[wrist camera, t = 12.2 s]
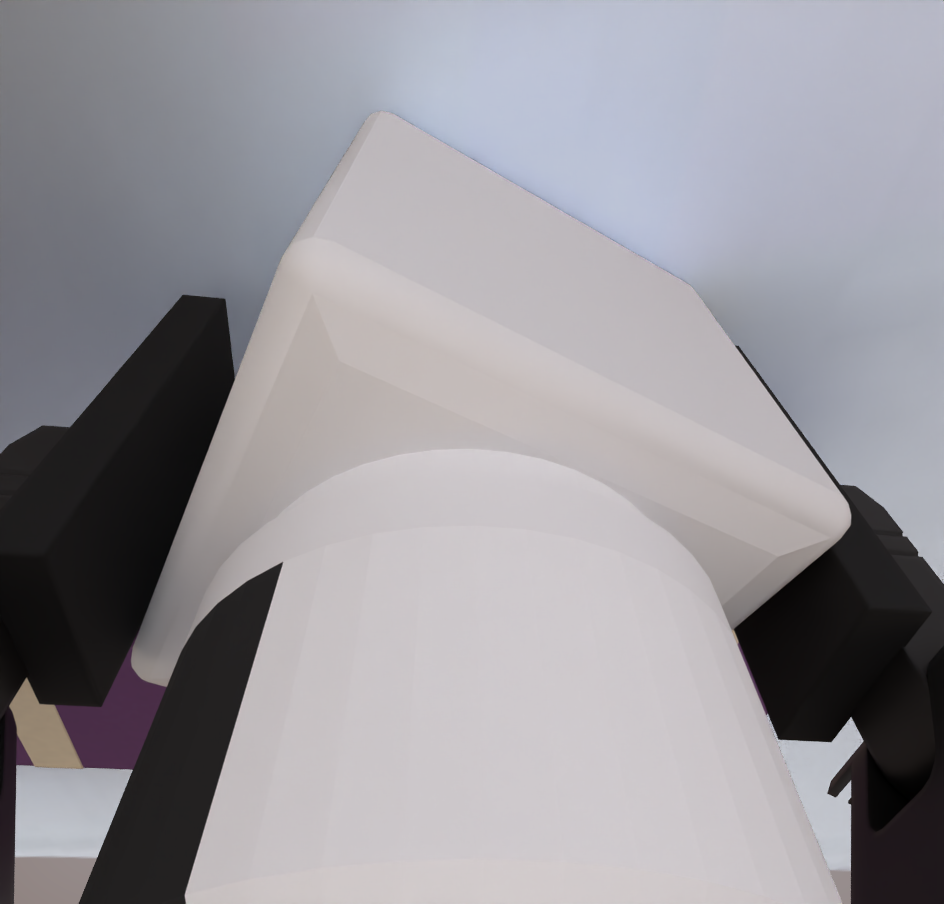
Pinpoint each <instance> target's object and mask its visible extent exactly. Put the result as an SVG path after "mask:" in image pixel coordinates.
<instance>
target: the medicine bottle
mask: <svg viewBox="0 0 944 904" xmlns="http://www.w3.org/2000/svg"><path fill="white" fill-rule="evenodd" d="M850 525H851V512H850V508H849V504H848V502H847V501H846V499H845V498H844V497H843V495H842V494H841V492H840V491H839V490H838V488H837V487H836V486H835V484H834V483H833V481H832V480H831V479H830V477H829V476H828V474H827V473H826V472H825V470H824V469H823V467H822V466H821V465H820V463H819V462H818V461H817V459H816V458H815V456H814V455H813V454H812V452H811V451H810V449H809V448H808V447H807V445H806V444H805V442H804V441H803V440H802V438H801V437H800V436H799V434H798V433H797V431H796V430H795V429H794V427H793V426H792V424H791V423H790V422H789V420H788V419H787V417H786V416H785V415H784V413H783V412H782V411H781V409H780V408H779V406H778V405H777V404H776V402H775V401H774V399H773V398H772V397H771V395H770V394H769V392H768V391H767V390H766V388H765V387H764V386H763V384H762V383H761V381H760V380H759V379H758V377H757V376H756V374H755V373H754V372H753V370H752V369H751V367H750V366H749V365H748V363H747V362H746V361H745V359H744V358H743V356H742V355H741V354H740V352H739V351H738V349H737V348H736V347H735V345H734V344H733V342H732V341H731V340H730V338H729V337H728V336H727V334H726V333H725V331H724V330H723V329H722V327H721V326H720V324H719V323H718V322H717V320H716V319H715V317H714V316H713V315H712V313H711V312H710V311H709V309H708V308H707V306H706V305H705V304H704V302H703V301H702V299H701V298H700V297H699V295H698V294H697V292H696V291H695V290H694V289H693V288H692V287H691V286H690V285H689V284H687V283H686V282H684V281H682V280H680V279H679V278H677V277H675V276H674V275H672V274H670V273H668V272H667V271H665V270H663V269H661V268H660V267H658V266H656V265H654V264H653V263H651V262H649V261H648V260H646V259H644V258H642V257H641V256H639V255H637V254H635V253H634V252H632V251H630V250H628V249H627V248H625V247H623V246H622V245H620V244H618V243H616V242H615V241H613V240H611V239H609V238H608V237H606V236H604V235H602V234H601V233H599V232H597V231H596V230H594V229H592V228H590V227H589V226H587V225H585V224H583V223H582V222H580V221H578V220H576V219H575V218H573V217H571V216H570V215H568V214H566V213H564V212H563V211H561V210H559V209H557V208H556V207H554V206H552V205H550V204H549V203H547V202H545V201H544V200H542V199H540V198H538V197H537V196H535V195H533V194H531V193H530V192H528V191H526V190H524V189H523V188H521V187H519V186H518V185H516V184H514V183H512V182H511V181H509V180H507V179H505V178H504V177H502V176H500V175H498V174H497V173H495V172H493V171H492V170H490V169H488V168H486V167H485V166H483V165H481V164H479V163H478V162H476V161H474V160H472V159H471V158H469V157H467V156H466V155H464V154H462V153H460V152H459V151H457V150H455V149H453V148H452V147H450V146H448V145H446V144H445V143H443V142H441V141H440V140H438V139H436V138H434V137H433V136H431V135H429V134H427V133H426V132H424V131H422V130H420V129H419V128H417V127H415V126H414V125H412V124H410V123H408V122H407V121H405V120H403V119H401V118H400V117H398V116H396V115H394V114H393V113H389V112H385V111H379V112H376V113H373V114H370V116H369V117H368V118H367V119H366V121H365V122H364V123H363V125H362V127H361V128H360V130H359V132H358V133H357V135H356V136H355V138H354V140H353V141H352V143H351V145H350V146H349V148H348V150H347V151H346V153H345V154H344V156H343V158H342V159H341V161H340V163H339V164H338V166H337V168H336V169H335V171H334V172H333V174H332V176H331V177H330V179H329V181H328V182H327V184H326V186H325V187H324V189H323V191H322V192H321V194H320V195H319V197H318V199H317V200H316V202H315V204H314V205H313V207H312V209H311V210H310V212H309V213H308V215H307V217H306V218H305V220H304V222H303V223H302V225H301V227H300V228H299V230H298V232H297V233H296V235H295V236H294V238H293V240H292V241H291V243H290V245H289V246H288V248H287V250H286V251H285V253H284V254H283V256H282V258H281V260H280V263H279V265H278V268H277V271H276V273H275V276H274V279H273V281H272V284H271V286H270V289H269V292H268V294H267V297H266V299H265V302H264V305H263V307H262V310H261V313H260V315H259V318H258V320H257V323H256V326H255V328H254V331H253V334H252V336H251V339H250V341H249V344H248V347H247V349H246V352H245V355H244V357H243V360H242V362H241V365H240V368H239V370H238V373H237V376H236V378H235V381H234V383H233V386H232V389H231V391H230V394H229V397H228V399H227V402H226V404H225V407H224V410H223V412H222V415H221V417H220V420H219V423H218V425H217V428H216V431H215V433H214V436H213V438H212V441H211V444H210V446H209V449H208V452H207V454H206V457H205V459H204V462H203V465H202V467H201V470H200V473H199V475H198V478H197V480H196V483H195V486H194V488H193V491H192V494H191V496H190V499H189V501H188V504H187V507H186V509H185V512H184V515H183V517H182V520H181V522H180V525H179V528H178V530H177V533H176V535H175V538H174V541H173V543H172V546H171V549H170V551H169V554H168V556H167V559H166V562H165V564H164V567H163V570H162V572H161V575H160V577H159V580H158V583H157V585H156V588H155V591H154V593H153V596H152V598H151V601H150V604H149V606H148V609H147V612H146V614H145V617H144V619H143V622H142V625H141V627H140V630H139V633H138V635H137V638H136V640H135V643H134V646H133V649H132V657H131V664H132V668H133V669H134V671H135V672H136V674H137V675H138V676H139V677H140V678H141V679H142V680H145V681H147V682H150V683H154V684H157V685H161V686H165V687H167V688H166V690H165V692H164V695H163V697H162V700H161V702H160V705H159V707H158V710H157V712H156V715H155V717H154V719H153V722H152V724H151V727H150V729H149V732H148V734H147V737H146V739H145V742H144V744H143V747H142V749H141V751H140V754H139V756H138V759H137V761H136V764H135V766H134V769H133V771H132V774H131V776H130V779H129V781H128V783H127V786H126V788H125V791H124V793H123V796H122V798H121V801H120V803H119V806H118V808H117V811H116V813H115V815H114V818H113V820H112V823H111V825H110V828H109V830H108V833H107V835H106V838H105V840H104V843H103V845H102V847H101V850H100V852H99V855H98V857H97V860H96V862H95V865H94V867H93V870H92V872H91V875H90V877H89V880H88V882H87V884H86V887H85V889H84V892H83V894H82V897H81V899H80V902H79V904H843V903H842V901H841V898H840V896H839V893H838V891H837V888H836V886H835V883H834V881H833V878H832V876H831V874H830V871H829V869H828V866H827V864H826V861H825V859H824V856H823V854H822V851H821V849H820V846H819V844H818V842H817V839H816V837H815V834H814V832H813V829H812V827H811V824H810V822H809V819H808V817H807V815H806V812H805V810H804V807H803V805H802V802H801V800H800V797H799V795H798V792H797V790H796V788H795V785H794V783H793V780H792V778H791V775H790V773H789V770H788V768H787V765H786V763H785V761H784V758H783V756H782V753H781V751H780V748H779V746H778V743H777V741H776V738H775V736H774V734H773V731H772V729H771V726H770V724H769V721H768V719H767V716H766V714H765V711H764V709H763V707H762V704H761V702H760V699H759V697H758V694H757V692H756V689H755V687H754V684H753V682H752V679H751V677H750V675H749V672H748V670H747V667H746V665H745V662H744V660H743V657H742V655H741V652H740V650H739V648H738V645H737V643H736V640H735V638H734V635H733V633H732V630H733V629H734V628H735V627H736V626H738V625H739V624H740V623H741V622H742V621H744V620H745V619H746V618H747V617H748V616H750V615H751V614H752V613H753V612H754V611H755V610H757V609H758V608H759V607H760V606H761V605H763V604H764V603H765V602H766V601H767V600H769V599H770V598H771V597H772V596H773V595H774V594H776V593H777V592H778V591H779V590H780V589H782V588H783V587H784V586H785V585H786V584H788V583H789V582H790V581H791V580H792V579H794V578H795V577H796V576H797V575H798V574H799V573H801V572H802V571H803V570H804V569H805V568H807V567H808V566H809V565H810V564H811V563H813V562H814V561H815V560H816V559H817V558H818V557H820V556H821V555H822V554H823V553H824V552H826V551H827V550H828V549H829V548H830V547H832V546H833V545H834V544H835V543H836V542H837V541H839V540H840V539H841V537H842V536H843V535H844V534H845V532H846V531H847V530H848V528H849V527H850Z"/></svg>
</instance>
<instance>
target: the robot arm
mask: <svg viewBox="0 0 944 904" xmlns="http://www.w3.org/2000/svg"><path fill="white" fill-rule="evenodd" d="M735 347H736V348H737V349H738V351H739V352H740V354H741V355H742V356H743V358H744V359H745V361H746V362H747V363H748V365H749V366H750V367H751V369H752V370H753V372H754V373H755V374H756V376H757V377H758V379H759V380H760V381H761V383H762V384H763V386H764V387H765V388H766V390H767V391H768V392H769V394H770V395H771V397H772V398H773V399H774V401H775V402H776V404H777V405H778V406H779V408H780V409H781V411H782V412H783V413H784V415H785V416H786V417H787V419H788V420H789V422H790V423H791V424H792V426H793V427H794V429H795V430H796V431H797V433H798V434H799V436H800V437H801V438H802V440H803V441H804V442H805V444H806V445H807V447H808V448H809V449H810V451H811V452H812V454H813V455H814V456H815V458H816V459H817V461H818V462H819V463H820V465H821V466H822V467H823V469H824V470H825V472H826V473H827V474H828V476H829V477H830V479H831V480H832V481H833V483H834V484H835V486H836V487H837V488H838V490H839V491H840V492H841V494H842V495H843V497H844V498H845V499H846V501H847V502H848V504H849V508H850V512H851V525H850V527H849V528H848V530H847V531H846V532H845V534H844V535H843V536H842V537H841V539H840V540H839V541H837V542H836V543H835V544H834V545H833V546H832V547H830V548H829V549H828V550H827V551H826V552H824V553H823V554H822V555H821V556H820V557H818V558H817V559H816V560H815V561H814V562H813V563H811V564H810V565H809V566H808V567H807V568H805V569H804V570H803V571H802V572H801V573H799V574H798V575H797V576H796V577H795V578H794V579H792V580H791V581H790V582H789V583H788V584H786V585H785V586H784V587H783V588H782V589H780V590H779V591H778V592H777V593H776V594H774V595H773V596H772V597H771V598H770V599H769V600H767V601H766V602H765V603H764V604H763V605H761V606H760V607H759V608H758V609H757V610H755V611H754V612H753V613H752V614H751V615H750V616H748V617H747V618H746V619H745V620H744V621H742V622H741V623H740V624H739V625H738V626H736V627H735V628H734V632H735V634H736V637H737V639H738V641H739V644H740V646H741V649H742V651H743V654H744V656H745V658H746V661H747V663H748V666H749V668H750V671H751V673H752V676H753V678H754V680H755V683H756V685H757V688H758V690H759V693H760V695H761V697H762V700H763V702H764V705H765V707H766V710H767V712H768V715H769V717H770V719H771V722H772V724H773V727H774V729H775V732H776V734H777V736H778V739H779V740H798V741H819V742H832V741H833V739H834V738H835V737H836V736H837V734H838V733H839V732H840V730H841V729H842V728H843V726H844V725H845V724H846V723H847V721H848V720H849V719H850V717H852V719H853V721H854V723H855V725H856V727H857V729H858V731H859V732H860V734H861V736H862V738H863V740H864V742H863V743H862V744H861V745H860V747H859V748H858V749H857V750H856V751H855V753H854V754H853V755H852V756H851V757H850V759H849V760H848V761H847V762H846V763H845V765H844V766H843V767H842V768H841V770H840V771H839V772H838V773H837V774H836V776H835V777H834V778H833V779H832V780H831V783H830V786H829V790H828V793H827V794H829V795H832V796H834V797H837V796H838V794H839V793H840V792H841V791H842V790H843V789H844V787H845V786H846V785H847V784H848V783H849V782H850V780H851V798H850V800H849V801H848V803H849V804H851V904H944V584H943V583H942V581H941V580H940V579H939V578H938V576H937V575H936V574H935V573H934V571H933V570H932V569H931V567H930V566H929V565H928V564H927V562H926V561H925V560H924V558H923V557H918V551H917V549H916V548H915V547H914V546H913V544H912V543H911V542H910V541H909V539H908V538H907V537H903V536H902V533H903V532H902V530H901V529H900V528H899V526H898V525H897V524H896V523H895V521H894V520H893V519H892V517H891V516H890V515H889V514H888V512H887V511H886V510H885V508H884V507H882V506H881V505H880V504H878V503H877V502H876V501H874V500H873V499H872V498H871V497H869V496H868V495H867V494H865V493H864V492H863V491H861V490H860V489H859V488H858V487H856V486H848V485H840V484H839V483H838V481H837V480H836V479H835V477H834V476H833V475H832V473H831V472H830V471H829V469H828V468H827V466H826V465H825V464H824V462H823V461H822V460H821V458H820V457H819V455H818V454H817V453H816V451H815V450H814V449H813V447H812V446H811V445H810V443H809V442H808V440H807V439H806V438H805V436H804V435H803V434H802V432H801V431H800V429H799V428H798V427H797V425H796V424H795V423H794V421H793V420H792V419H791V417H790V416H789V414H788V413H787V412H786V410H785V409H784V408H783V406H782V405H781V403H780V402H779V401H778V399H777V398H776V397H775V395H774V394H773V392H772V391H771V390H770V388H769V387H768V386H767V384H766V383H765V382H764V380H763V379H762V377H761V376H760V375H759V373H758V372H757V371H756V369H755V368H754V366H753V365H752V364H751V362H750V361H749V360H748V358H747V357H746V356H745V354H744V353H743V351H742V350H741V349H740V347H739V346H735ZM234 381H235V376H234V367H233V359H232V351H231V342H230V334H229V326H228V318H227V309H226V301H225V299H222V298H211V297H200V296H190V295H182V296H181V298H180V299H179V300H178V301H177V302H176V304H175V305H174V306H173V307H172V308H171V309H170V311H169V312H168V313H167V314H166V315H165V316H164V318H163V319H162V320H161V321H160V322H159V324H158V325H157V326H156V327H155V328H154V329H153V331H152V332H151V333H150V334H149V335H148V336H147V338H146V339H145V340H144V341H143V342H142V344H141V345H140V346H139V347H138V348H137V349H136V351H135V352H134V353H133V354H132V355H131V356H130V358H129V359H128V360H127V361H126V362H125V364H124V365H123V366H122V367H121V368H120V369H119V371H118V372H117V373H116V374H115V375H114V376H113V378H112V379H111V380H110V381H109V382H108V384H107V385H106V386H105V387H104V388H103V389H102V391H101V392H100V393H99V394H98V395H97V396H96V398H95V399H94V400H93V401H92V402H91V404H90V405H89V406H88V407H87V408H86V409H85V411H84V412H83V413H82V414H81V415H80V416H79V418H78V419H77V420H76V421H75V422H74V424H73V425H72V426H71V427H70V428H69V427H56V426H41V427H39V428H37V429H36V430H34V431H32V432H30V433H29V434H27V435H25V436H23V437H22V438H20V439H18V440H16V441H15V442H13V443H11V444H9V445H8V446H7V447H6V448H5V450H4V451H3V452H2V453H1V454H0V904H14V864H15V808H16V753H17V726H16V722H15V719H14V715H13V712H12V710H11V709H10V707H9V705H10V704H11V702H12V701H13V699H14V697H15V696H16V694H17V692H18V691H19V689H20V687H21V686H22V684H23V683H24V681H25V679H26V678H27V679H28V681H29V683H30V685H31V687H32V689H33V692H34V694H35V696H36V698H37V700H38V702H39V704H45V705H66V706H87V707H102V705H103V703H104V701H105V699H106V697H107V695H108V693H109V691H110V689H111V686H112V684H113V682H114V680H115V678H116V676H117V674H118V672H119V670H120V668H121V666H122V664H123V662H124V660H125V658H126V656H127V654H128V652H129V649H130V647H131V645H132V643H133V641H134V639H135V637H136V635H137V633H138V631H139V629H140V627H141V625H142V622H143V619H144V617H145V614H146V612H147V609H148V606H149V604H150V601H151V598H152V596H153V593H154V591H155V588H156V585H157V583H158V580H159V577H160V575H161V572H162V570H163V567H164V564H165V562H166V559H167V556H168V554H169V551H170V549H171V546H172V543H173V541H174V538H175V535H176V533H177V530H178V528H179V525H180V522H181V520H182V517H183V515H184V512H185V509H186V507H187V504H188V501H189V499H190V496H191V494H192V491H193V488H194V486H195V483H196V480H197V478H198V475H199V473H200V470H201V467H202V465H203V462H204V459H205V457H206V454H207V452H208V449H209V446H210V444H211V441H212V438H213V436H214V433H215V431H216V428H217V425H218V423H219V420H220V417H221V415H222V412H223V410H224V407H225V404H226V402H227V399H228V397H229V394H230V391H231V389H232V386H233V383H234Z"/></svg>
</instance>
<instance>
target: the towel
mask: <svg viewBox="0 0 944 904" xmlns="http://www.w3.org/2000/svg"><path fill="white" fill-rule="evenodd" d="M139 630H140V629H139ZM138 633H139V631H138ZM138 633H137V635H138ZM732 633H733V635H734V638H735V640H736V643H737V645H738V648H739V650H740V652H741V655H742V657H743V660H744V662H745V665H746V667H747V670H748V672H749V675H750V677H751V679H752V682H753V684H754V687H755V689H756V692H757V694H758V697H759V699H760V702H761V704H762V707H763V709H764V711H765V714H766V715H767V714H768V712H767V710H766V707H765V705H764V702H763V700H762V697H761V695H760V693H759V690H758V688H757V685H756V683H755V680H754V678H753V676H752V673H751V671H750V668H749V666H748V663H747V661H746V658H745V656H744V654H743V651H742V649H741V646H740V644H739V641H738V639H737V637H736V634H735V632H734V629H733V630H732ZM137 635H136V637H135V639H134V641H133V643H132V645H131V647H130V649H129V652H128V654H127V656H126V658H125V660H124V662H123V664H122V666H121V668H120V670H119V672H118V674H117V676H116V678H115V680H114V682H113V684H112V686H111V689H110V691H109V693H108V695H107V697H106V699H105V701H104V703H103V705H102V707H87V706H66V705H45V704H39V702H38V700H37V698H36V696H35V694H34V692H33V689H32V687H31V685H30V683H29V681H28V679H27V678H26V679H25V681H24V683H23V684H22V686H21V687H20V689H19V691H18V692H17V694H16V696H15V697H14V699H13V701H12V702H11V704H10V705H9V707H10V709H11V710H12V712H13V715H14V719H15V722H16V726H17V753H16V765H30V766H35V767H48V768H74V769H83V768H109V769H134V766H135V764H136V761H137V759H138V756H139V754H140V751H141V749H142V747H143V744H144V742H145V739H146V737H147V734H148V732H149V729H150V727H151V724H152V722H153V719H154V717H155V715H156V712H157V710H158V707H159V705H160V702H161V700H162V697H163V695H164V692H165V690H166V688H167V687H165V686H161V685H157V684H154V683H150V682H147V681H145V680H142V679H141V678H140V677H139V676H138V675H137V674H136V672H135V671H134V669H133V668H132V664H131V657H132V649H133V646H134V643H135V640H136V638H137Z"/></svg>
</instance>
